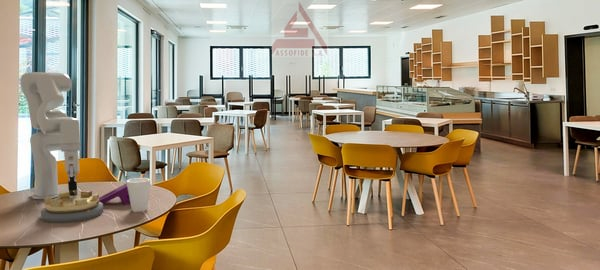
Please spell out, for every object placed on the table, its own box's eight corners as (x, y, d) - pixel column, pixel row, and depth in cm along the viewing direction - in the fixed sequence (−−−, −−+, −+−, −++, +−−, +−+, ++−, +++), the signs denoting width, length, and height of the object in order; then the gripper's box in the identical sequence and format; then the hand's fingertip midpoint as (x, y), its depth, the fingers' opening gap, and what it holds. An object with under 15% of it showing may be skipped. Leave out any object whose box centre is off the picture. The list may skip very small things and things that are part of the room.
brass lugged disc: (77, 214, 173) (76, 203, 172) (33, 212, 177) (32, 201, 176) (109, 201, 192) (108, 191, 192) (68, 199, 196) (67, 189, 196)
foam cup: (131, 207, 196) (130, 178, 195) (153, 206, 197) (152, 177, 196) (125, 213, 187) (123, 182, 186) (147, 212, 188) (146, 182, 186)
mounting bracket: (104, 219, 198) (141, 199, 202) (94, 203, 197) (132, 183, 200) (106, 213, 207) (142, 194, 211) (97, 198, 206) (133, 179, 209)
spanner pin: (76, 195, 191) (75, 172, 190) (68, 196, 190) (67, 173, 189) (78, 194, 194) (77, 171, 193) (70, 194, 193) (69, 171, 192)
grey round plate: (27, 220, 177) (26, 212, 177) (71, 205, 199) (71, 198, 199) (74, 224, 171) (74, 217, 170) (115, 209, 193) (114, 202, 192)
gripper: (80, 149, 184) (82, 192, 186) (80, 144, 199) (82, 184, 201) (59, 150, 181) (62, 194, 183) (61, 145, 196) (63, 186, 197)
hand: (72, 188), depth 192 cm, fingers closed on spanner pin, 3 cm apart
